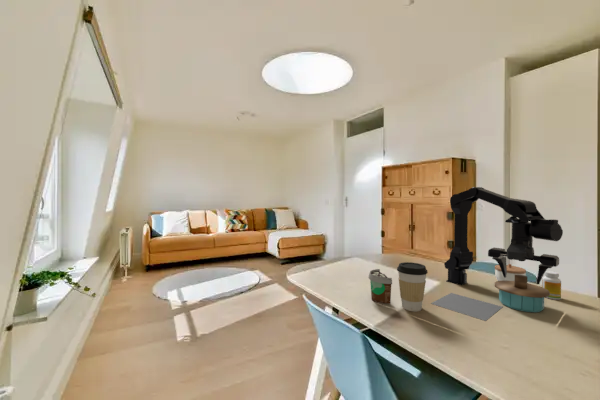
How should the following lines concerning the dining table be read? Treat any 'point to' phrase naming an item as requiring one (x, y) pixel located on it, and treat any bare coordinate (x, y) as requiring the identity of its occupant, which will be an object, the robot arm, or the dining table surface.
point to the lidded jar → (509, 273)
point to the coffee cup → (412, 285)
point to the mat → (467, 306)
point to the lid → (522, 287)
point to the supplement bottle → (552, 284)
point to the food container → (380, 287)
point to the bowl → (521, 302)
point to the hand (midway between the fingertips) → (521, 280)
